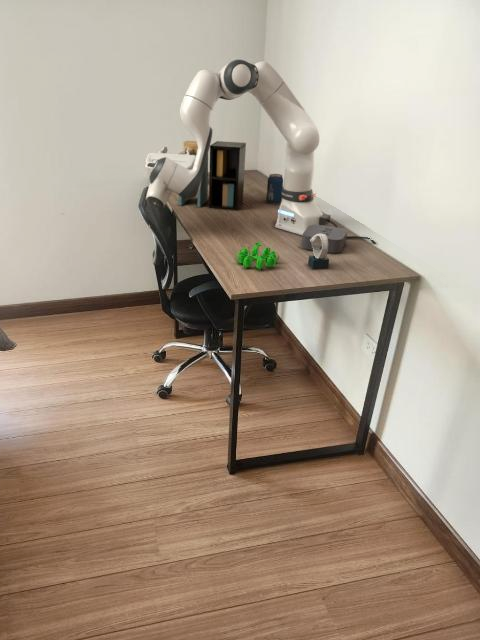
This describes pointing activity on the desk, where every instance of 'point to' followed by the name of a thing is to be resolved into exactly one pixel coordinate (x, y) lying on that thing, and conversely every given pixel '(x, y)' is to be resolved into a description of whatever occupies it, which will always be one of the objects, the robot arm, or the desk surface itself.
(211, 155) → the shelf
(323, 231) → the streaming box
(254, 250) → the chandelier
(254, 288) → the desk surface
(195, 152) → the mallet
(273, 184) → the soda can
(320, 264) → the watch
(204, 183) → the stand
